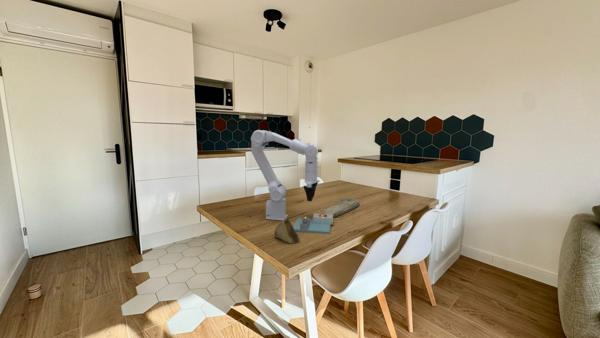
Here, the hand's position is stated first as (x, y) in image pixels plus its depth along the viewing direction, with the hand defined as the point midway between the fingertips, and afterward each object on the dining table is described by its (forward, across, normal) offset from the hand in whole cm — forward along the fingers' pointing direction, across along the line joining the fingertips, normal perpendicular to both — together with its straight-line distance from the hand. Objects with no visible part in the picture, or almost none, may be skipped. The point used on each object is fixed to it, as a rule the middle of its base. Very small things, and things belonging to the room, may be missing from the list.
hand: (310, 198), depth 121 cm
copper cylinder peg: (+10, -4, -6) cm, 13 cm away
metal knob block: (+10, -11, +1) cm, 15 cm away
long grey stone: (+11, +18, -15) cm, 26 cm away
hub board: (+10, -8, -2) cm, 14 cm away
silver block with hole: (+10, -4, -6) cm, 12 cm away
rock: (+11, -24, +7) cm, 27 cm away
